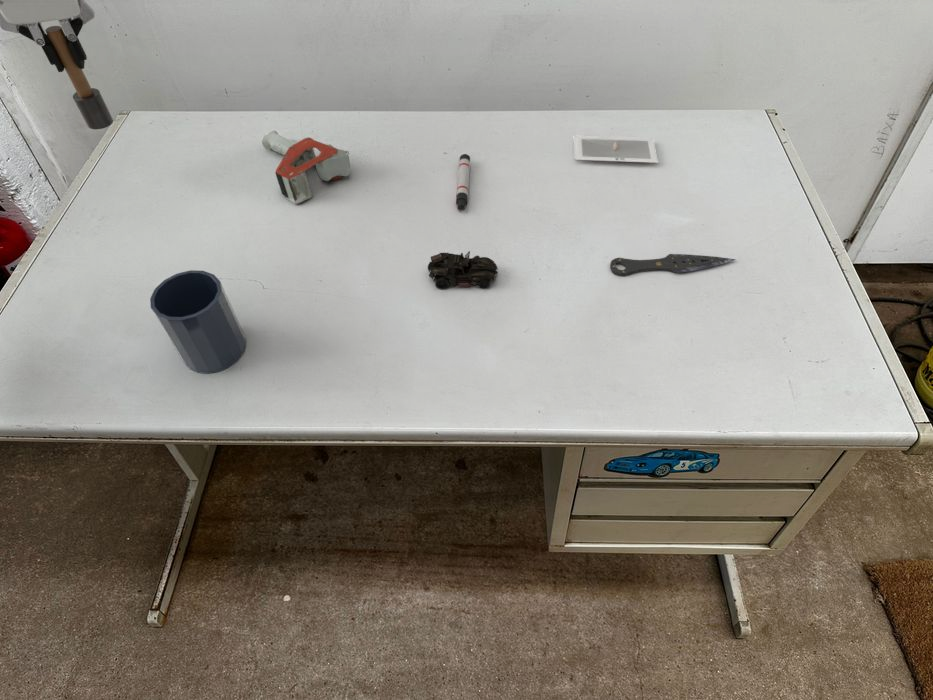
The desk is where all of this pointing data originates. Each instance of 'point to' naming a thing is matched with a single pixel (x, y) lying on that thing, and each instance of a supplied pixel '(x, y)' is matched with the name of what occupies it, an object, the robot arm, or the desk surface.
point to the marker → (463, 181)
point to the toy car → (461, 270)
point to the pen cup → (199, 321)
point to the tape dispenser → (305, 164)
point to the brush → (80, 84)
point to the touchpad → (614, 149)
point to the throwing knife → (667, 263)
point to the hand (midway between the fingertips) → (71, 65)
